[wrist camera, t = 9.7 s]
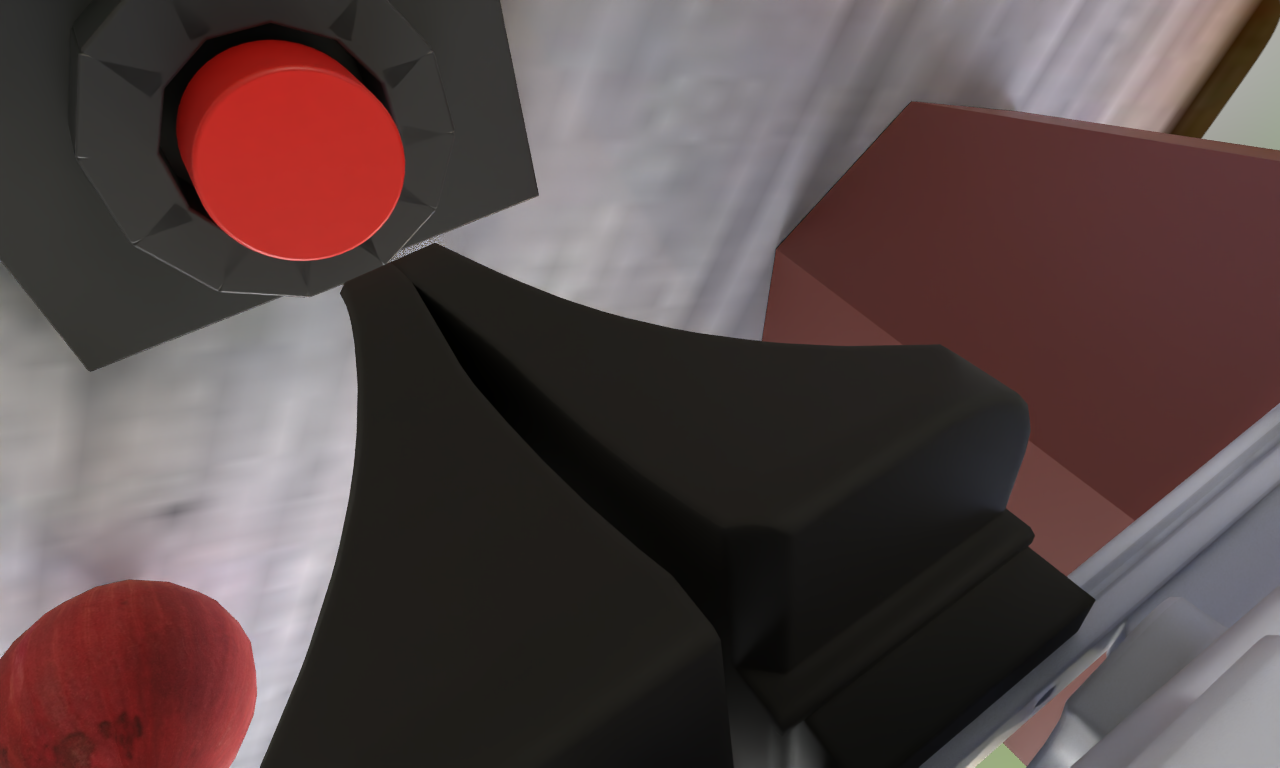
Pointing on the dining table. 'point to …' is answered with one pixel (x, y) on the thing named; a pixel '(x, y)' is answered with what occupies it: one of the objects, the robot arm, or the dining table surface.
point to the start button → (289, 150)
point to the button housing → (159, 182)
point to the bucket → (1059, 300)
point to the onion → (128, 682)
